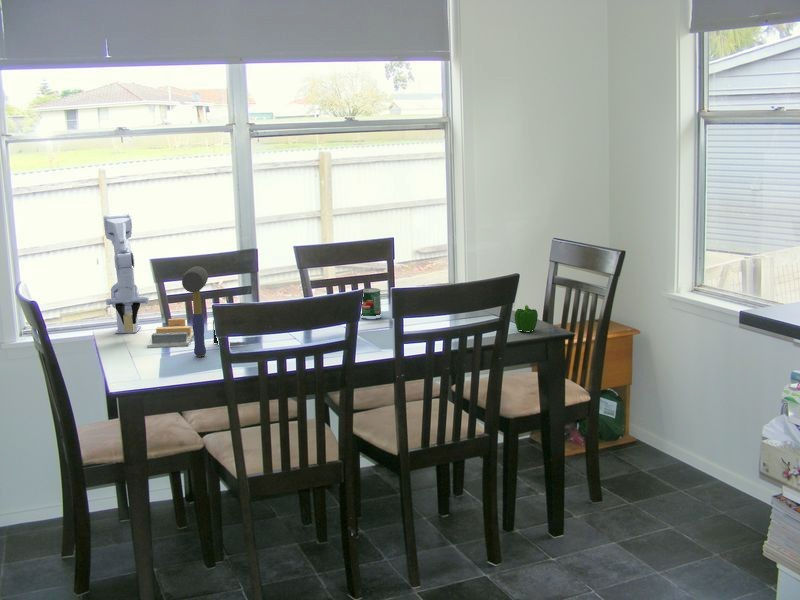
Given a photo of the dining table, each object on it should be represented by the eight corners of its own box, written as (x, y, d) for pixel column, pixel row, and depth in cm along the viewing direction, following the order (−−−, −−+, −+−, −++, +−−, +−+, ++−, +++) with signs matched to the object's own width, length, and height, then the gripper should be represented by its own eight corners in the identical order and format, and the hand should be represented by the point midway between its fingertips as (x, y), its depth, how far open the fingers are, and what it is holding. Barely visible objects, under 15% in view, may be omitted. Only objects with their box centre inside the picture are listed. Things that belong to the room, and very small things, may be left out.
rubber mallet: (209, 360, 304) (203, 270, 298) (186, 361, 304) (179, 271, 298) (214, 351, 317) (208, 264, 311) (192, 351, 316) (186, 265, 310)
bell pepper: (517, 328, 340) (517, 301, 338) (539, 329, 337) (539, 302, 335) (511, 333, 332) (511, 306, 330) (534, 334, 329) (534, 307, 327)
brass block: (127, 329, 335) (125, 313, 334) (135, 328, 336) (133, 312, 334) (124, 331, 332) (123, 315, 330) (133, 331, 332) (131, 315, 331)
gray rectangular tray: (158, 331, 347) (158, 322, 346) (196, 330, 348) (196, 320, 347) (147, 347, 323) (146, 337, 323) (188, 345, 324) (187, 336, 324)
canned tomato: (383, 315, 365) (382, 288, 363) (378, 320, 358) (378, 292, 355) (363, 315, 367) (362, 287, 364) (358, 319, 359) (357, 291, 357)
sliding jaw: (161, 328, 346) (160, 319, 345) (193, 327, 347) (193, 317, 346) (156, 335, 336) (155, 325, 335) (190, 334, 337) (189, 324, 336)
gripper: (103, 289, 326) (106, 326, 329) (145, 287, 327) (148, 325, 330) (107, 285, 333) (110, 322, 336) (148, 284, 334) (151, 320, 337)
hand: (129, 323), depth 333 cm, fingers closed on brass block, 3 cm apart
